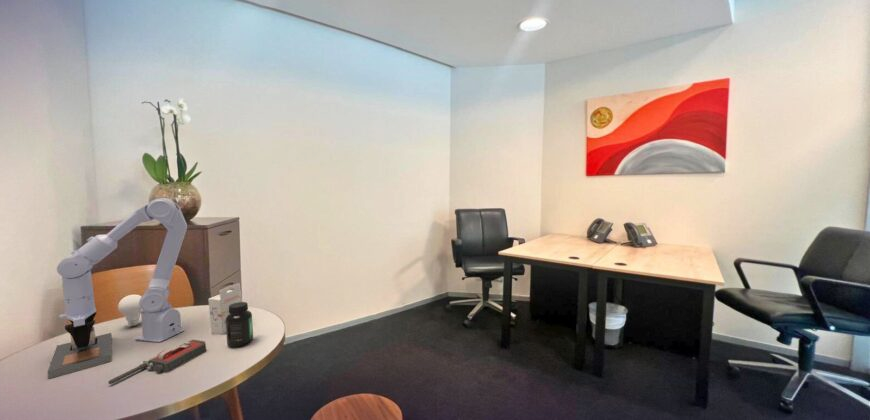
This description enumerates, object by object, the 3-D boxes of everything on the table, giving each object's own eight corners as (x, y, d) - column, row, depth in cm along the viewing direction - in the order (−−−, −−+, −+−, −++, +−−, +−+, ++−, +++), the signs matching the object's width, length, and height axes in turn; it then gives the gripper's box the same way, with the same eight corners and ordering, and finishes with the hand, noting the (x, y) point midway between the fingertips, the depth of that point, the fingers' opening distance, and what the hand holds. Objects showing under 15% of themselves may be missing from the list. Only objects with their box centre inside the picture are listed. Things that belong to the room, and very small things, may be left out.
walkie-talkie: (189, 346, 96) (106, 387, 76) (188, 332, 95) (104, 370, 76) (212, 349, 93) (132, 393, 74) (211, 335, 93) (130, 375, 74)
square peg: (95, 350, 93) (93, 331, 92) (72, 356, 89) (70, 336, 89) (96, 345, 96) (94, 326, 95) (74, 351, 93) (72, 331, 92)
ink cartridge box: (231, 322, 111) (229, 281, 110) (244, 323, 110) (241, 282, 109) (210, 333, 103) (206, 289, 102) (223, 334, 102) (220, 290, 101)
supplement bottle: (258, 340, 98) (256, 302, 97) (236, 350, 92) (233, 310, 91) (244, 335, 101) (242, 299, 100) (222, 345, 95) (219, 306, 94)
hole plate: (111, 361, 87) (110, 354, 87) (48, 379, 79) (47, 370, 79) (111, 338, 100) (111, 332, 99) (57, 352, 92) (57, 345, 92)
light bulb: (135, 321, 112) (133, 291, 111) (152, 322, 111) (149, 292, 110) (114, 330, 105) (111, 298, 105) (131, 331, 105) (128, 299, 104)
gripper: (60, 294, 93) (65, 338, 95) (54, 307, 83) (59, 357, 84) (95, 288, 98) (100, 330, 100) (93, 300, 88) (98, 347, 89)
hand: (83, 342), depth 92 cm, fingers open, 6 cm apart
